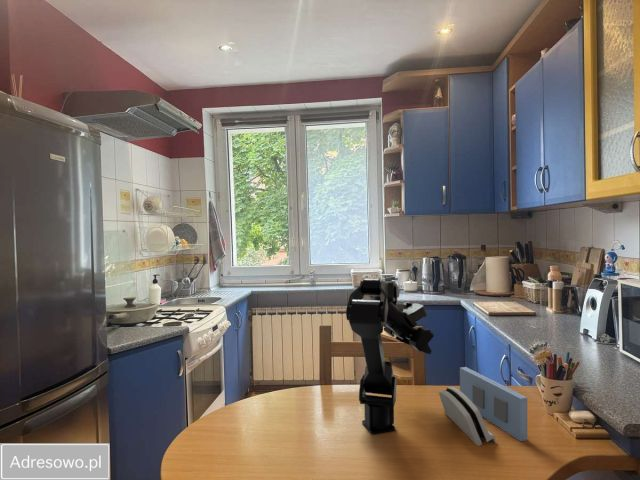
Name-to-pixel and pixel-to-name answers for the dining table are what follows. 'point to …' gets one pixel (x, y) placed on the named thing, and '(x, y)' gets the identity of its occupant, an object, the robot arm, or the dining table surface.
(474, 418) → the white black-striped curved device
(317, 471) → the dining table surface
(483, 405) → the cabinet side panel
